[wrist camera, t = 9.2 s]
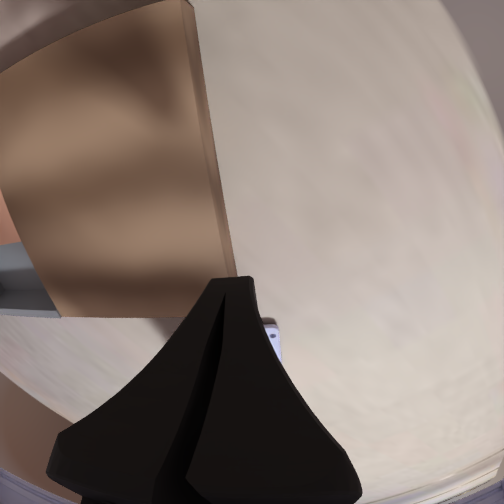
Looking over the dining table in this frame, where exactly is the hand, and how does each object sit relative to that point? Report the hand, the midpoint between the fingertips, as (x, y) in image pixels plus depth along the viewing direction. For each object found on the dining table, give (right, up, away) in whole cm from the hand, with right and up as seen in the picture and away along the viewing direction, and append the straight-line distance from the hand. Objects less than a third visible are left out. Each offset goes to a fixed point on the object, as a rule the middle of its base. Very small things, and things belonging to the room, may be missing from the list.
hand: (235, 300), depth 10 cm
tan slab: (-8, +6, +7) cm, 13 cm away
